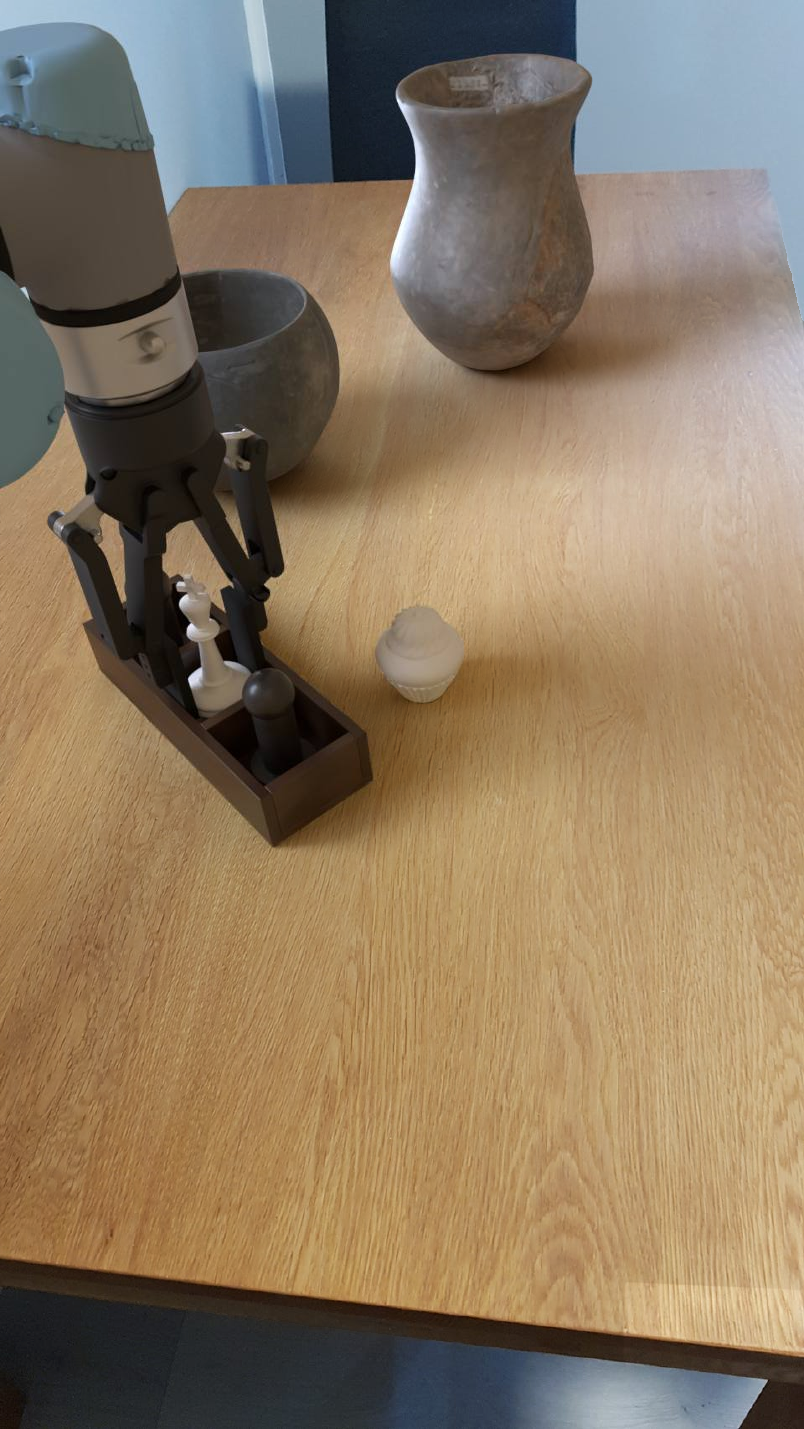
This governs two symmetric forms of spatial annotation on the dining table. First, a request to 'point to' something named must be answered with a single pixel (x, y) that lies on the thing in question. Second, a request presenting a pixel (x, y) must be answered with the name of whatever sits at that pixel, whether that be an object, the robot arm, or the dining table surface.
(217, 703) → the chess piece
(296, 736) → the ebony piece
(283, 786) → the rack
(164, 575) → the ebony piece
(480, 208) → the vase
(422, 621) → the muffin
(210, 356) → the bowl
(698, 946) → the dining table surface
